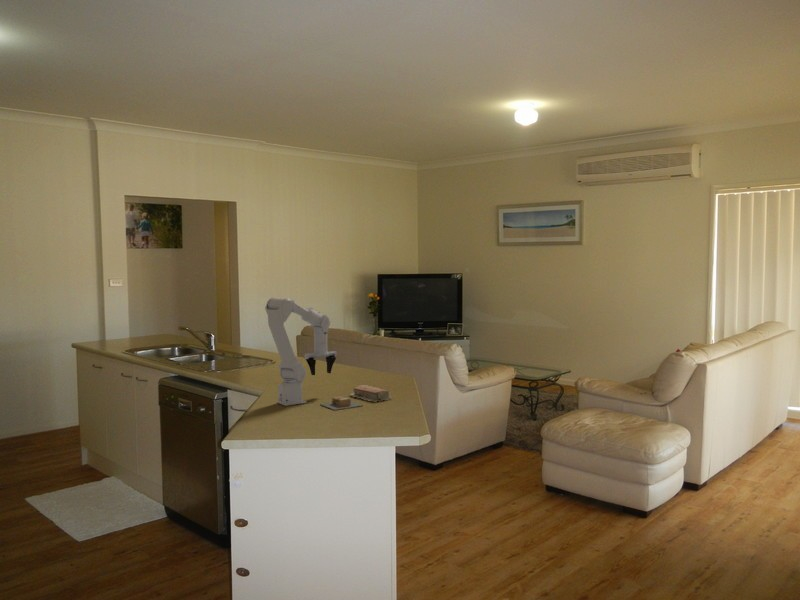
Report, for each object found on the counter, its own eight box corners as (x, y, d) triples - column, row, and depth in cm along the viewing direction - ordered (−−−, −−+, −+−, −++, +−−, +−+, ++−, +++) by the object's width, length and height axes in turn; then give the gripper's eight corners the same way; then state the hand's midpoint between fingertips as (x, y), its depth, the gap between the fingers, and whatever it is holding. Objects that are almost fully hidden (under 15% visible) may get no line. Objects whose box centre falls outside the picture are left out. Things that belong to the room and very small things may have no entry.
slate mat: (334, 410, 253) (334, 409, 253) (319, 404, 263) (319, 404, 263) (362, 406, 261) (362, 405, 261) (347, 400, 271) (347, 399, 271)
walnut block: (332, 403, 264) (332, 397, 263) (341, 402, 266) (341, 395, 266) (340, 406, 258) (340, 400, 258) (350, 405, 260) (350, 398, 260)
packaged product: (392, 388, 273) (374, 392, 267) (392, 400, 274) (374, 403, 267) (366, 382, 287) (348, 385, 281) (366, 393, 287) (348, 397, 281)
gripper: (309, 344, 273) (310, 377, 274) (340, 342, 281) (340, 373, 282) (302, 343, 279) (302, 374, 279) (332, 340, 287) (332, 371, 288)
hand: (321, 374), depth 281 cm, fingers open, 7 cm apart
